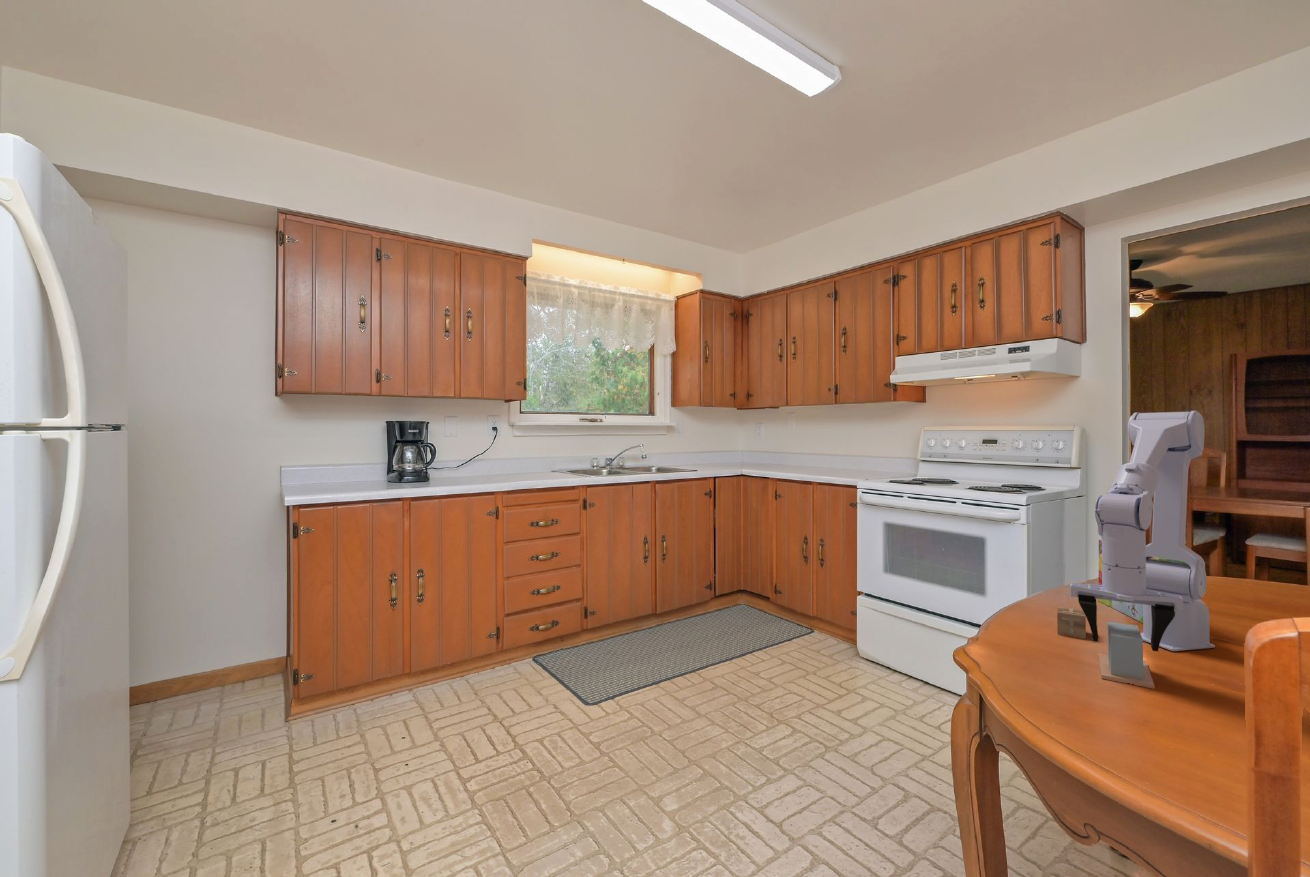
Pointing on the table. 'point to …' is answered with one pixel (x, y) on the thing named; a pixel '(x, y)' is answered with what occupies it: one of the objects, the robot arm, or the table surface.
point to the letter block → (1071, 622)
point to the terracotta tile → (1107, 675)
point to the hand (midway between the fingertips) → (1124, 644)
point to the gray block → (1125, 650)
